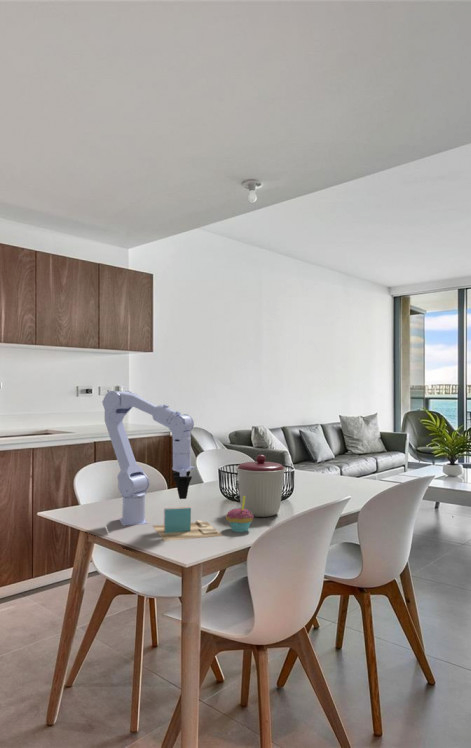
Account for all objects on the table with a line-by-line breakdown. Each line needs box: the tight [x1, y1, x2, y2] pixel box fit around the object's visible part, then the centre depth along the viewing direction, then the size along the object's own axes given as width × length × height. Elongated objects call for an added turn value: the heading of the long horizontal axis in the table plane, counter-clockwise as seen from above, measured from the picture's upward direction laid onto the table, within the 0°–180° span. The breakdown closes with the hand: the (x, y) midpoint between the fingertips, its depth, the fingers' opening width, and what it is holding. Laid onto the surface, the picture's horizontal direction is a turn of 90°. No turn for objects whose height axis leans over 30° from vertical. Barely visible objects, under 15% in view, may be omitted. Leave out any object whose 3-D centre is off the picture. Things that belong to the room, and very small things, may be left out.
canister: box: [235, 454, 287, 518], centre depth 190 cm, size 18×18×21 cm
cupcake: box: [225, 494, 255, 533], centre depth 166 cm, size 9×8×12 cm
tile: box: [163, 506, 192, 533], centre depth 164 cm, size 2×8×7 cm, turn 109°
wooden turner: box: [195, 519, 219, 534], centre depth 168 cm, size 14×4×1 cm, turn 19°
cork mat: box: [152, 521, 224, 542], centre depth 164 cm, size 18×18×1 cm
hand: (182, 496), depth 167 cm, fingers open, 7 cm apart
